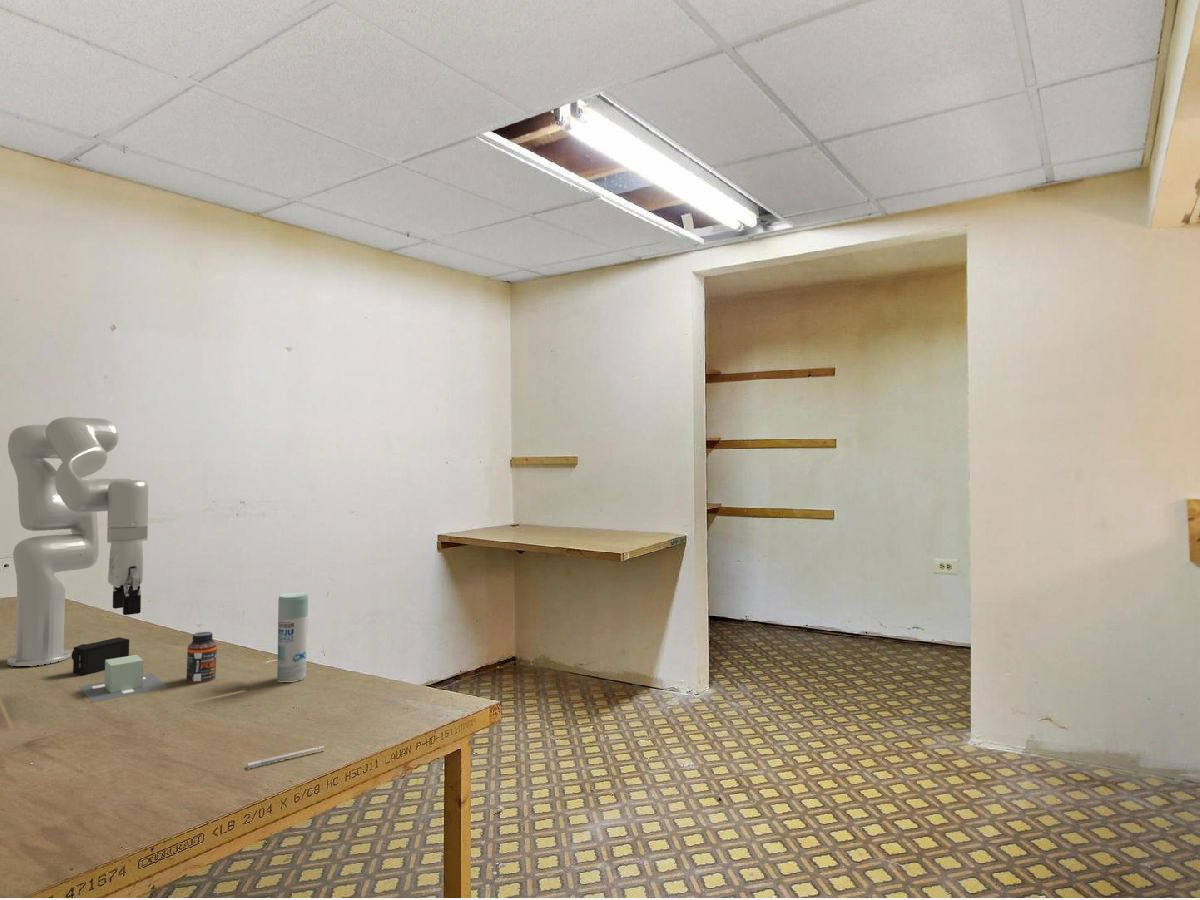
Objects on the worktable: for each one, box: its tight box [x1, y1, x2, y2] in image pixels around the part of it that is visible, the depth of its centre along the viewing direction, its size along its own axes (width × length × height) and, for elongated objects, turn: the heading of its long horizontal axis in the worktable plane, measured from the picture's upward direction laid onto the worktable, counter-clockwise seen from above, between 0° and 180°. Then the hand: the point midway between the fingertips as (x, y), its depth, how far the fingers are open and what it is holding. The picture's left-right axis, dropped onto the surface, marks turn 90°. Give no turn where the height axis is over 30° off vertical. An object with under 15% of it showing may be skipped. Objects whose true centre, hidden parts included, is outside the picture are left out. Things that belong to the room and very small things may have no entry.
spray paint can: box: [276, 591, 309, 681], centre depth 162 cm, size 6×6×20 cm
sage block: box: [104, 654, 144, 693], centre depth 153 cm, size 6×6×6 cm
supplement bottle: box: [186, 631, 218, 684], centre depth 159 cm, size 6×6×11 cm
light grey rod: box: [246, 745, 326, 770], centre depth 120 cm, size 12×1×1 cm, turn 127°
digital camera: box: [71, 636, 130, 676], centre depth 166 cm, size 10×5×7 cm, turn 155°
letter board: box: [78, 672, 169, 703], centre depth 153 cm, size 14×14×1 cm
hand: (126, 610), depth 153 cm, fingers open, 9 cm apart
